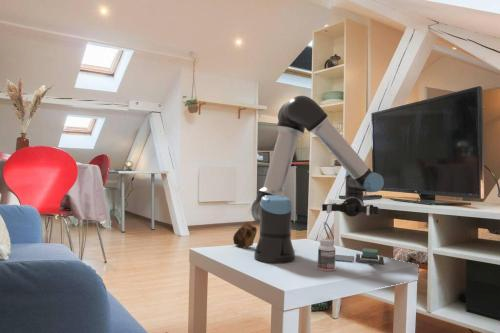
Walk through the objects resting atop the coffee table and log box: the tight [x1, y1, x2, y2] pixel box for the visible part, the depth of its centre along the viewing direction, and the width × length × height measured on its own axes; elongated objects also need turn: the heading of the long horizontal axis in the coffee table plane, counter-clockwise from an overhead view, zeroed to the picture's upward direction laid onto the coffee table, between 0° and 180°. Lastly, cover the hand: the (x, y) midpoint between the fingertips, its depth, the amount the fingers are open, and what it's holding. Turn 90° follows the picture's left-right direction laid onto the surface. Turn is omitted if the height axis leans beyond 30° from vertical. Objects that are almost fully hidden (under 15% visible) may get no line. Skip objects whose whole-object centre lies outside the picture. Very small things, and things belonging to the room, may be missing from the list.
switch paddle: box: [360, 247, 379, 260], centre depth 135 cm, size 6×1×12 cm
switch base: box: [355, 253, 385, 266], centre depth 140 cm, size 10×4×3 cm, turn 72°
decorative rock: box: [232, 221, 258, 248], centre depth 164 cm, size 12×6×11 cm, turn 36°
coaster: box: [335, 254, 354, 263], centre depth 145 cm, size 10×10×1 cm
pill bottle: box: [317, 238, 336, 272], centre depth 127 cm, size 6×6×10 cm
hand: (347, 210), depth 132 cm, fingers open, 13 cm apart
